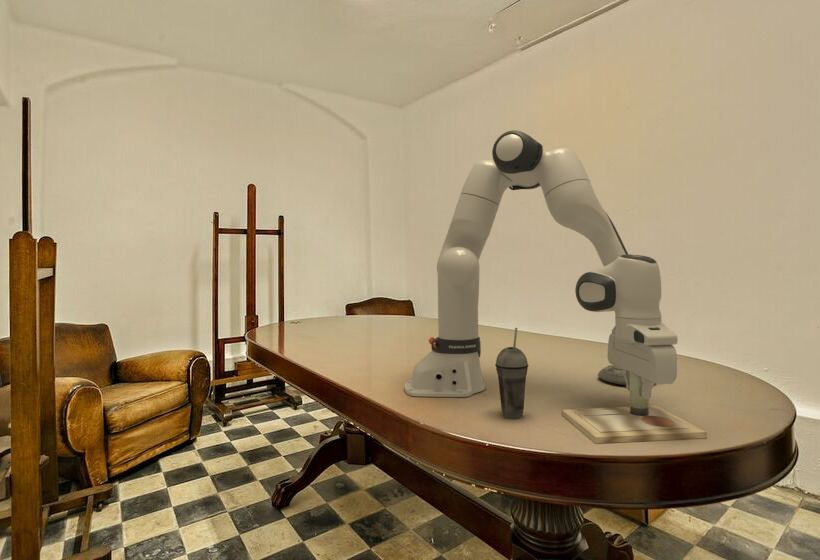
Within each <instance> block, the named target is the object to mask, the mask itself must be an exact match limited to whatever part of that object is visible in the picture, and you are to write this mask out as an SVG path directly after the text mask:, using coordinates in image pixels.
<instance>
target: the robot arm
mask: <svg viewBox="0 0 820 560" xmlns="http://www.w3.org/2000/svg"><path fill="white" fill-rule="evenodd" d="M491 153H492V154H491V155H492V159H481V160H478V161H477V162H476V163H475V164H473V166H472V167H471V170H470V171H469V173H468V175H467V177H466V179H465V181H464V184H463V186H462V189H461V191H460V195H459V198H458V201H457V203H456V206H455V208H454V212H453V216H452V218H451V222H450V224H449V228H448V230H447V234H446V236H445V239H444V242H443V245H442V247H441V251H440V254H439V257H438V259H437V264H436V271H437V317H438V318H437V323H438V327H437V328H438V329H437V331H438V336H437V337H436V338H435V337H434V336H431V337H429V338H428V343H429V345H430V346H431V351H430V352H428V354H426V355H425V356H424V357H423V358H421V359H420V360H419V361H417V362H416V363H415V364H414V367H413V370H412V374H411V379H408V380H406V381H405V382H404V386H403V387H404V391H405V393H406V394H407V395H408V396H412V397H429V398H431V397H434V398H435V397H437V398H438V397H439V398H442V397H445V398H469V397H471V396H472V395H474V394H478V393H479V392H480V393H481V392H483V391H484V390H485V389H486V384H485V381H484V378H483V374H482V373H483V371H482V367H481V366H482V365H481V359H480V358H481V354H482V346H481V345H482V344H481V337H480V336H479V299H480V298H479V297H480V296H479V295H480V262H479V260H480V258H481V255H482V252H483V250H484V248H485V245H486V243H487V240H488V238H489V236H490V233H491V231H492V229H493V226H494V222H495V220H496V216H497V212H498V211H499V207H500V203H501V200H502V198H503V195H504V193H505V192H506V190H507V189H508V188H509V190H510V191H519V190H533V189H537V188H539V187H540V188H541V190H542V194H543V196H544V199H545V203H546V206H547V209H548V211H549V213H550V215H551V217H552V218H553V220H554V221H555V222H556V223H557V224H559V225H561V227H564V228H567V229H569V230H571V231H575V232H576V233H578V234H579V235H582V236H583V237H585V238H586V239H587V240H589V241H590V243H592V245H593V247H594V249H595V251H596V252H597V255H598V257H599V259H600V261H601V263H602V266H603V267H601V268H597V269H594V270H592V271H591V270H590V271H588V272H584V273H583V274H582V275H581V276H580V277H579V278H578V279H577V281H576V285H575V293H574V294H575V296H576V300H577V302H578V304H579V305H580V306H581V308H582V309H584V310H586V311H589V312H594V313H605V312H614V314H615V321H614V322H615V324H614V327H613V328H612V329H611V333H610V334H609V337H608V341H607V342H608V343H607V360H608V362H609V364H610V365H615V366H617V367H620V368H622V369H623V375H624V378H625V381H626V385H625V388H626V390H627V391H629V392H630V372H631V373H633V374H636V375H638V376H640V377H641V381H642V382H643V385H642V388H639V395H640V396H641V397H643V398H649V399H651V398H652V390H653V388H654V385H670V384H671V385H672V384H674V383H675V381H676V379H677V377H678V355H677V350H676V348H675V345H677V344H678V340H679V339H678V334H676V333H675V332H674V331H673V330H671V329H670V328H669V327H668V326H667V325H666V324H664V323H663V322H662V312H661V309H660V303H661V299H662V279H661V278H662V276H661V269H660V267H659V263H658V262H657V260H656V259H654V258H652V257H650V256H646V255H642V254H641V255H639V254H637V255H636V254H629V252H628V250H627V248H626V246H625V245H624V242H623V241H622V238H621V237H620V234H619V232H618V231H617V229H616V226H615V224H614V223H613V221H612V220H611V218H610V216H609V215H608V212H606V211H605V209H604V208H603V206H602V205H601V202H600V201H599V198H598V197H597V195H596V192H595V190H594V188H593V186H592V184H591V181H590V179H589V176H588V175H589V174H588V173H587V171H586V169H585V167H584V165H583V164H582V162H581V160H580V157H578V155H577V154H576V152H575V151H574V150H572V149H571V148H567V147H559V148H555V149H552V150H550V151H548V150H547V151H546V150H544V147H543V145H542V144H541V143H540V142H539V141H537V140H536V139H534V138H533V137H532V136H531V135H529V134H527V133H526V132H524V131H521V130H514V129H513V130H509V131H506V132H504V133H502V134H501V135H499V136H498V138H497V139H496V140H495V142H494V144H493V147H492V150H491Z"/></svg>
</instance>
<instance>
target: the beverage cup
mask: <svg viewBox="0 0 820 560" xmlns="http://www.w3.org/2000/svg"><path fill="white" fill-rule="evenodd" d="M517 334H518V327H515V328H514V336H513V346H508V347H505V348H503V349H502V350H501V351H500V352H499V353H498V355H497V356H496V359H495V368H496V374H497V378H498V379H497V380H498V386H499V387H498V389H499V398H500V399H499V400H500V407H501V413H502V415H501V416H502V417H503V418H505V419H509V420H520V419H522V418H523V416H524V410H525V399H526V398H525V397H526V396H525V394H526V382H527V374H528V367H529V362H528V359H527V356H526V355H525V353H524V352H523V351H522V350H521V349H519V348H518V347H516V344H517V337H518V335H517Z"/></svg>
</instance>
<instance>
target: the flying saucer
mask: <svg viewBox="0 0 820 560" xmlns="http://www.w3.org/2000/svg"><path fill="white" fill-rule="evenodd" d="M597 377H598V378H600V379H601V380H603V381H605V382H607V383H611V384H616V385H622V386H626V381H625V378H624V375H623V369H622V368H620V367H617V366H615V365H613V364H610V365H607V366H605V367H603V368H602V369H600V371H598V373H597Z"/></svg>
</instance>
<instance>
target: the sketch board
mask: <svg viewBox="0 0 820 560" xmlns="http://www.w3.org/2000/svg"><path fill="white" fill-rule="evenodd" d="M561 416H562V417H564V418H565V419H566V420H567V421H568V422H569V423H571V424H572V425H573V426H574V427H575V428H577V429H578V430H579V431H580V432H581V433H583V435H584V436H586V437H587V438H588V439H589V440H591V441H592V442H593V443H595V444H613V443H616V444H617V443H632V442H633V443H634V442H653V441H656V442H657V441H674V440H692V439H693V440H694V439H695V440H696V439H708V432H707V431H706V430H704V429H702V428H700V427H698V426H696V425H694V424H692V423H690V422H689V421H687V420H684V419H682V418H681V417H679V416H677V415H675V414H674V413H671V412H669V411H668V410H666V409H664V408H662V407H659V406H658V405H649V414H648V415H645V416H640V415H635V414H632V413H630V406H618V407H617V406H616V407H595V408H592V407H591V408H574V409H573V408H572V409H570V408H569V409H561Z"/></svg>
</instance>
